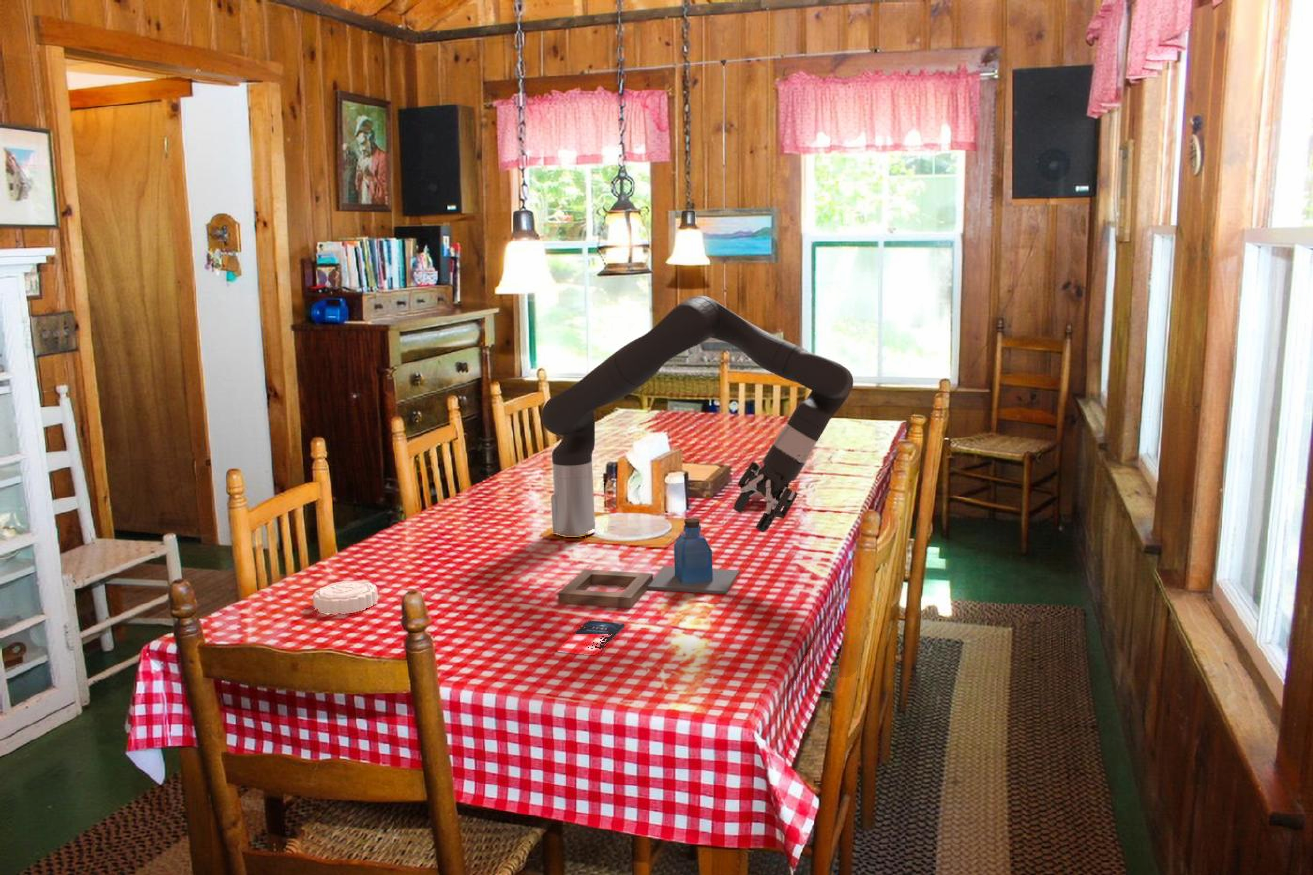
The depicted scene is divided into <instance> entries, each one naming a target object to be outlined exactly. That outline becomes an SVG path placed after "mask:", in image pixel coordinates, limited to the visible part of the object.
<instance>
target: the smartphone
mask: <svg viewBox="0 0 1313 875" xmlns="http://www.w3.org/2000/svg"><path fill="white" fill-rule="evenodd" d="M587 621H588V622H587ZM587 621H585V622H586V623H585V622H584V623H583V624H582V625H583V627H581V626H579V628H580V629H579V628H577V630H575V632H574V633H573V634H575V633H576V634H608V635H611V634H612V635H611V636H610V637H605V638H604V639H603V640H602V641H605V639H607V640H606V642H601V641H600V642H601V644H604V643H605V644H606V643H607V642H609V641H610V640H611V639H612V640H614V638H615V637H616V636H617V635H619V634H620V633H621V632H622V631H623V629H624V628H625V627H626V624H625V623H623V622H614V621H613V622H612V621H604V620H587ZM584 627H585V628H584ZM621 630H622V631H621ZM619 632H620V633H619ZM616 634H617V635H616ZM614 636H615V637H614ZM602 637H604V636H602ZM613 637H614V638H613ZM600 639H602V638H600ZM612 640H611V641H612ZM593 643H594V642H593ZM597 644H598V643H597ZM597 644H596V645H597ZM601 644H600V647H597V646H595V648H599V649H601V648H602V649H603V648H604V647H605V646H604V645H605V644H604V645H601ZM592 646H593V645H592ZM588 648H589V647H588ZM605 648H606V647H605ZM605 648H604V649H605ZM591 649H593V648H591ZM604 649H603V650H604Z"/></svg>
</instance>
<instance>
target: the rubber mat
mask: <svg viewBox="0 0 1313 875" xmlns="http://www.w3.org/2000/svg"><path fill="white" fill-rule="evenodd" d="M739 575H740V570H738V569H737V570H735V569H721V568H719V569H718V568H713V581H707V582H698V583H689V584H682V583H681V582H680V580H679V579H678V578H677V577H676V576H675V566H667V565H664V566H663V567H662V568H661V569H660V570H659V571H658V572H657V573H656V574H655V576H653V581H652V582H651V583H650V584H649V585H648V590H653V591H669V592H682V593H683V592H686V593H697V594H699V593H700V594H717V595H719V594H720V595H726V594H727V593H728V591H729V590H730V588H731V587H732V586H733V584H734V583H735V581H736V580H737V578H738V576H739Z"/></svg>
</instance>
